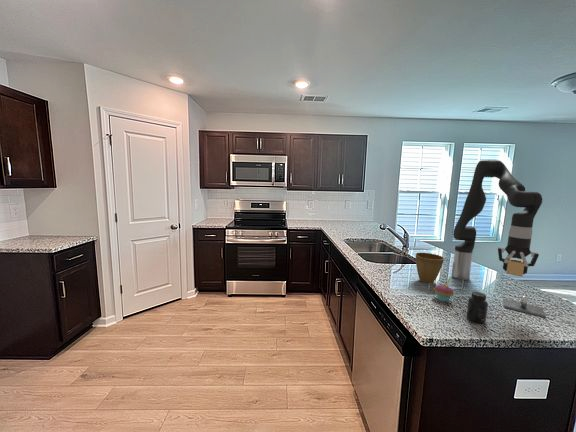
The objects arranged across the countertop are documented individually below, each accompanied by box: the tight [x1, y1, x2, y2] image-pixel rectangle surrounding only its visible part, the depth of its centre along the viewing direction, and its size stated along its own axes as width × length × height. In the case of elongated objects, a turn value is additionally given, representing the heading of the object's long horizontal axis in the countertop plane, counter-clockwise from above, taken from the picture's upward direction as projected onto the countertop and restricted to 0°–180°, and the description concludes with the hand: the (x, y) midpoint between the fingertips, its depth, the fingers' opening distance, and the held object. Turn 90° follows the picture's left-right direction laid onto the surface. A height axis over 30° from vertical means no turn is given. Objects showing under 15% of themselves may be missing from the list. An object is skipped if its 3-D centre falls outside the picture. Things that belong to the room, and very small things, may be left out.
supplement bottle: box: [465, 291, 489, 325], centre depth 106 cm, size 7×7×12 cm
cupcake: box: [433, 277, 455, 302], centre depth 126 cm, size 9×8×12 cm
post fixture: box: [502, 295, 547, 318], centre depth 119 cm, size 14×10×6 cm
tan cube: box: [505, 258, 525, 278], centre depth 113 cm, size 6×6×6 cm
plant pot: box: [415, 252, 445, 285], centre depth 149 cm, size 15×15×16 cm
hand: (514, 272), depth 114 cm, fingers closed on tan cube, 5 cm apart
